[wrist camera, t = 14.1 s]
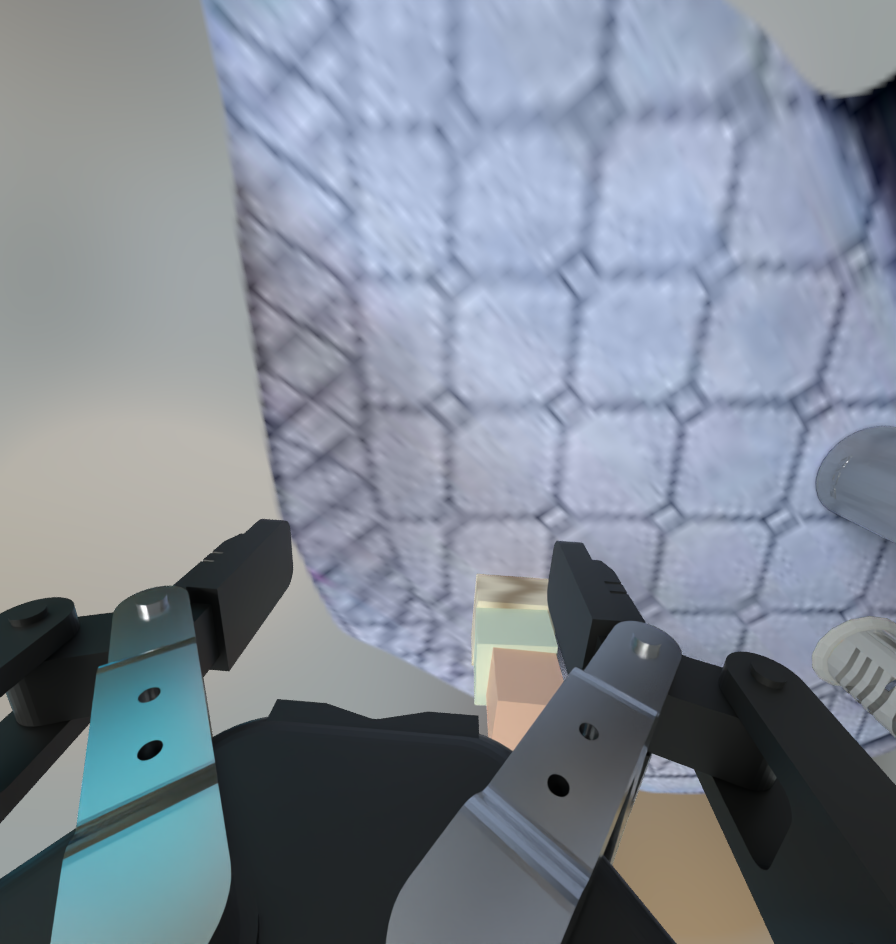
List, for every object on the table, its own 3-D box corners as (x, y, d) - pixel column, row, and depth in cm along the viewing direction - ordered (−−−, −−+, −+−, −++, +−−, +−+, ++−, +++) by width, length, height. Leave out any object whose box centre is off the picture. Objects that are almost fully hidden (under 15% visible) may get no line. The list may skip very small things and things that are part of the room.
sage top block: (547, 610, 40) (558, 646, 36) (541, 666, 43) (550, 708, 38) (475, 607, 41) (477, 643, 36) (473, 663, 43) (474, 704, 38)
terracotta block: (555, 653, 36) (571, 707, 31) (545, 701, 38) (558, 760, 32) (493, 647, 36) (497, 700, 31) (486, 695, 38) (489, 753, 33)
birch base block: (549, 577, 45) (559, 606, 40) (540, 637, 48) (548, 671, 43) (476, 572, 45) (477, 600, 40) (471, 632, 48) (471, 665, 43)
